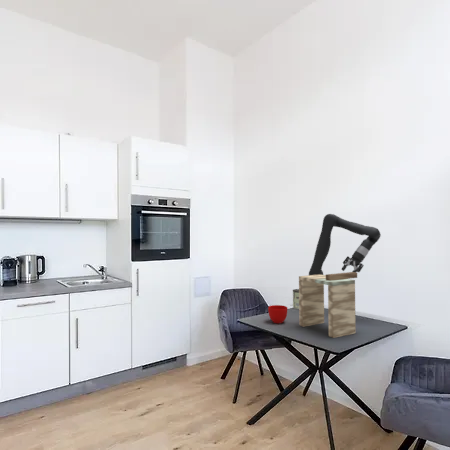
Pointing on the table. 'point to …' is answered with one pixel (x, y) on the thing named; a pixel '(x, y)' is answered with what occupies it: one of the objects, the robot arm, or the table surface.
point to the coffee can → (296, 298)
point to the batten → (341, 276)
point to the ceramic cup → (277, 313)
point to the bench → (337, 304)
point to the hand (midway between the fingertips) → (346, 272)
